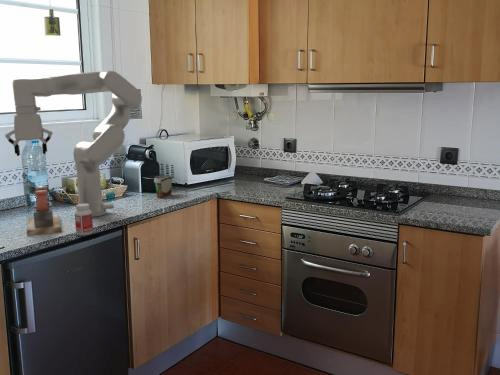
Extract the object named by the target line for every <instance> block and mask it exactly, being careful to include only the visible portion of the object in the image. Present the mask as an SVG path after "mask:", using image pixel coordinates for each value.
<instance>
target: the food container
mask: <svg viewBox="0 0 500 375" xmlns="http://www.w3.org/2000/svg"><path fill="white" fill-rule="evenodd" d="M172 181H173V176H172V175H171V174H169V175H168V174H166V175H158V176H157V175H156V176H154V179H153V182H154V184H155V189H156V190H155V191H156V198H157V199H161V200H163V199H166V198H168V197H170V196H172V191H173V190H172V187H173V186H172V183H173V182H172Z"/></svg>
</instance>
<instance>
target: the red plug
mask: <svg viewBox="0 0 500 375" xmlns="http://www.w3.org/2000/svg"><path fill="white" fill-rule="evenodd" d="M34 194H35V196H36V202H37V207H38V212H40V211H48V205H47V202H48V190H47V189H46V190H39V191H37V190H35V191H34Z"/></svg>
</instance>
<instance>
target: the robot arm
mask: <svg viewBox="0 0 500 375" xmlns="http://www.w3.org/2000/svg"><path fill="white" fill-rule="evenodd" d="M11 83H12V91H13V92H12V93H13V99H14V105H15V106H14V107H15V114H14V116H13V119H14V120H13V130H11V131H9V132H8V133H5V135H4V137H5V139H7V141H8V143H10V144H11V145H13V148H14V153H15V155H16V157H19V156H21V150H20V145H19V142H21V141H34V140H35V141H36V140H37V141H38V140H39V141H40V142H41V147H42V154H43V155H46V153H47V152H48V147H47V146H48V145H47V144H48V142H49V141H50V140H51V138H52V135H54V134H53V133H54V132H53V131H51V130H48V129H46V128H44V127H43V123H42V118H41V116H40V113H38V112H40V111H41V110H42V109H41V107H40V106H37V100H36V97H37V98H41V97H44V98H47V97H51V96H56V95H57V96H58V95H69V96H70V95H71V96H73V95H74V96H75V95H84V94H85V95H86V94H94V93H105V92H106V93H107V92H110V93H112V95H111V104H112V106H111V107H112V108H111V112H110V113H109V115H108V116H107V117H106V118H105V119H104V120H103V121H102V122H101V123H100V124H99V125H98V126H97V127H95V129H94V130H93V133H92V139H93V141H92V140H91V141H90V140H82V141H79V142H78V143H76V145H75V146H74V149H73V160H74V164H75V168H76V180H77V192H78V193H77V194H78V204H89V210H91V211H92V218H97V217H101V216H105V215H106V214H107V210H108V209H109V210H113V209H114V208H115V206H114V203H113V204H111V203H110V204H109V203H104V202H103V199H102V198H103V197H102V196H103V195H102V181H101V171H100V165H102V164H104V163H105V162H107V161H108V160H109V159H110V158H111V157H112V156H113V155H114V154H115V153H116V151H117V150H119V148H120V147H121V146H122V145H123V143H124V141H125V135H126V134H125V131H124V129H125V127H127V125H128V123H129V122H130V119H131V109H134V108H137V107H139V106H140V105H141V104H142V100H143V97H142V93H141V92H140V90H139V89H138V88H136V87H135V86H134V85H133V84H131V83H130V82H129V81H128V80H127V79H126V78H124V77H123V76H122V75H121V74H120V73H119V72H117V71H114V70H105V71H103V70H102V71H91V72H77V73H69V74H63V75H57V76H44V77H43V76H41V77H33V78H29V77H27V78H25V77H23V78H14V79H13V80H12V82H11ZM45 133H46V134H47V137H46V138H44V135H45ZM12 135H14V138H15V140H14V139H13V138H12V137H11V136H12Z"/></svg>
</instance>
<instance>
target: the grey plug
mask: <svg viewBox="0 0 500 375" xmlns="http://www.w3.org/2000/svg"><path fill="white" fill-rule="evenodd" d="M34 189H35V190H36V191H39V190H47V189H48V185H37V186H35V188H34ZM47 205H48V201H47Z"/></svg>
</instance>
